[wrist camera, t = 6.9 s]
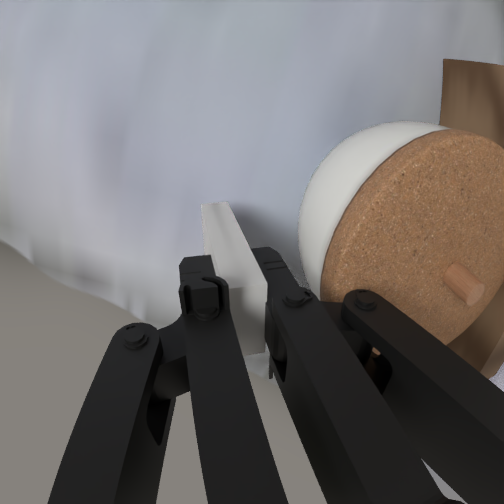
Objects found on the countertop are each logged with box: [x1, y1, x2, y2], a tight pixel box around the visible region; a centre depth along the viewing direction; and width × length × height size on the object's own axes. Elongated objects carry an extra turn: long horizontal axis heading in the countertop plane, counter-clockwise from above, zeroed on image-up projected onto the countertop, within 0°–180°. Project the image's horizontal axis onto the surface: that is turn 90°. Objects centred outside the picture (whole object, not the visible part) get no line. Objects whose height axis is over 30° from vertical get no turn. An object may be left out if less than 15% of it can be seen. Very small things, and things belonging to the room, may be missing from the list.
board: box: [440, 59, 504, 379], centre depth 15 cm, size 18×3×9 cm, turn 0°
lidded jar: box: [298, 121, 504, 355], centre depth 13 cm, size 11×11×9 cm
